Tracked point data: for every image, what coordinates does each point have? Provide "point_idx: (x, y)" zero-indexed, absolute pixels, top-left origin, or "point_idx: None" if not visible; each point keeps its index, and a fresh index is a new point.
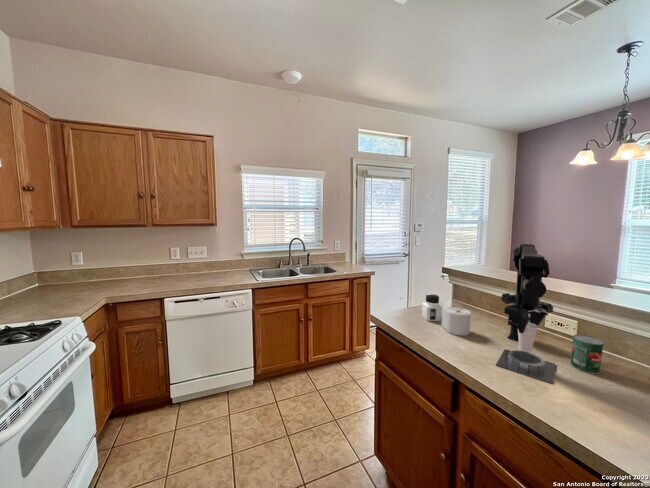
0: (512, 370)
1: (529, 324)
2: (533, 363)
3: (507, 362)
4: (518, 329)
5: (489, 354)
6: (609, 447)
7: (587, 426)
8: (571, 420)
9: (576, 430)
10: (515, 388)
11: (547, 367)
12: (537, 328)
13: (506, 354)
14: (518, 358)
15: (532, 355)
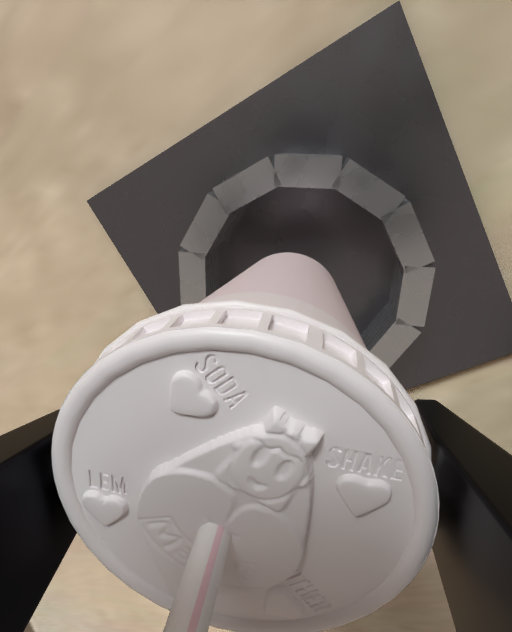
0: (143, 288)
1: (261, 537)
2: (367, 288)
3: (189, 211)
4: (54, 416)
5: (178, 34)
6: (83, 628)
7: (106, 586)
8: (83, 559)
9: (55, 578)
10: (31, 392)
11: (403, 355)
12: (282, 617)
13: (303, 104)
14: (334, 195)
15: (400, 277)
